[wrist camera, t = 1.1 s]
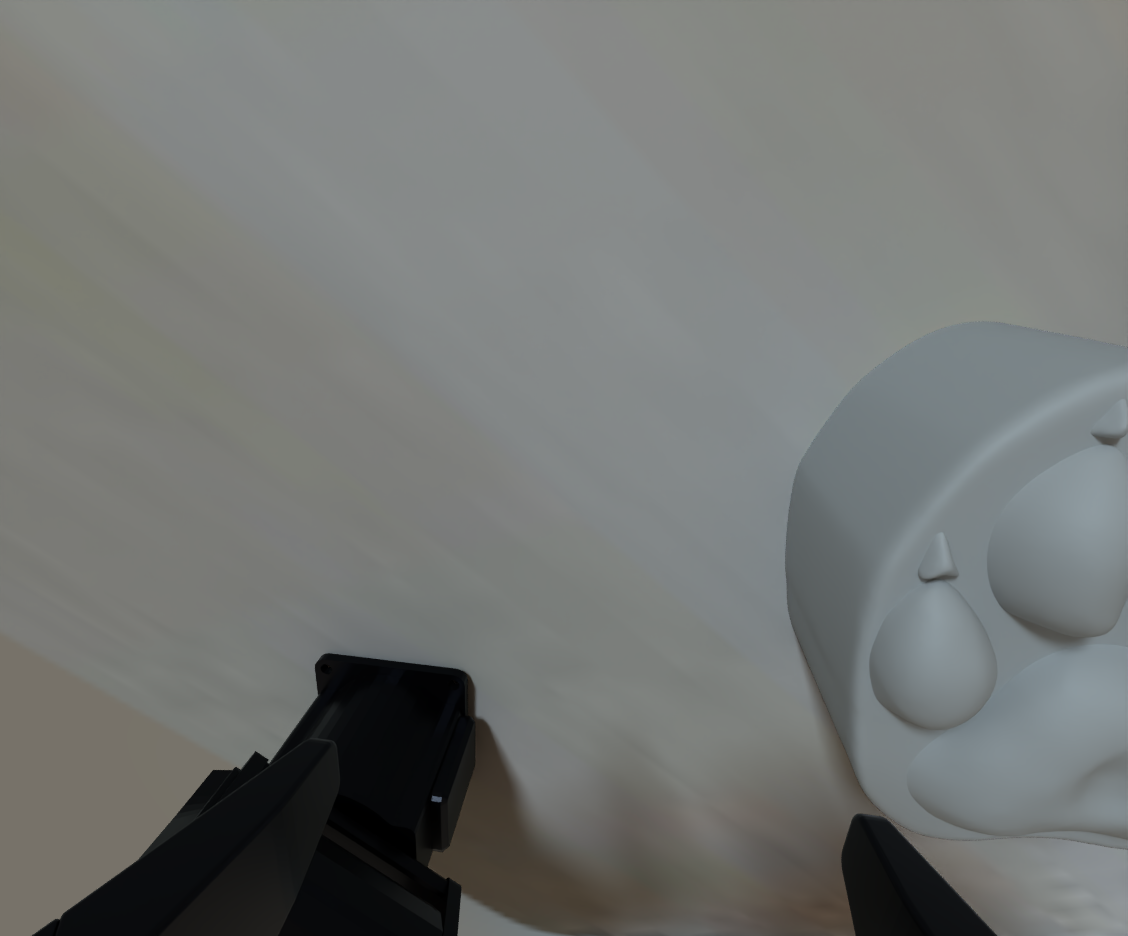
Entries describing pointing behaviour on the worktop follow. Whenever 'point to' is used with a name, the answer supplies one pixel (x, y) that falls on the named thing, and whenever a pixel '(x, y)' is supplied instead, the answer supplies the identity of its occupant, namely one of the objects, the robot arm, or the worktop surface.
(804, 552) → the lumpy-topped squat cylinder
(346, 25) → the worktop surface
